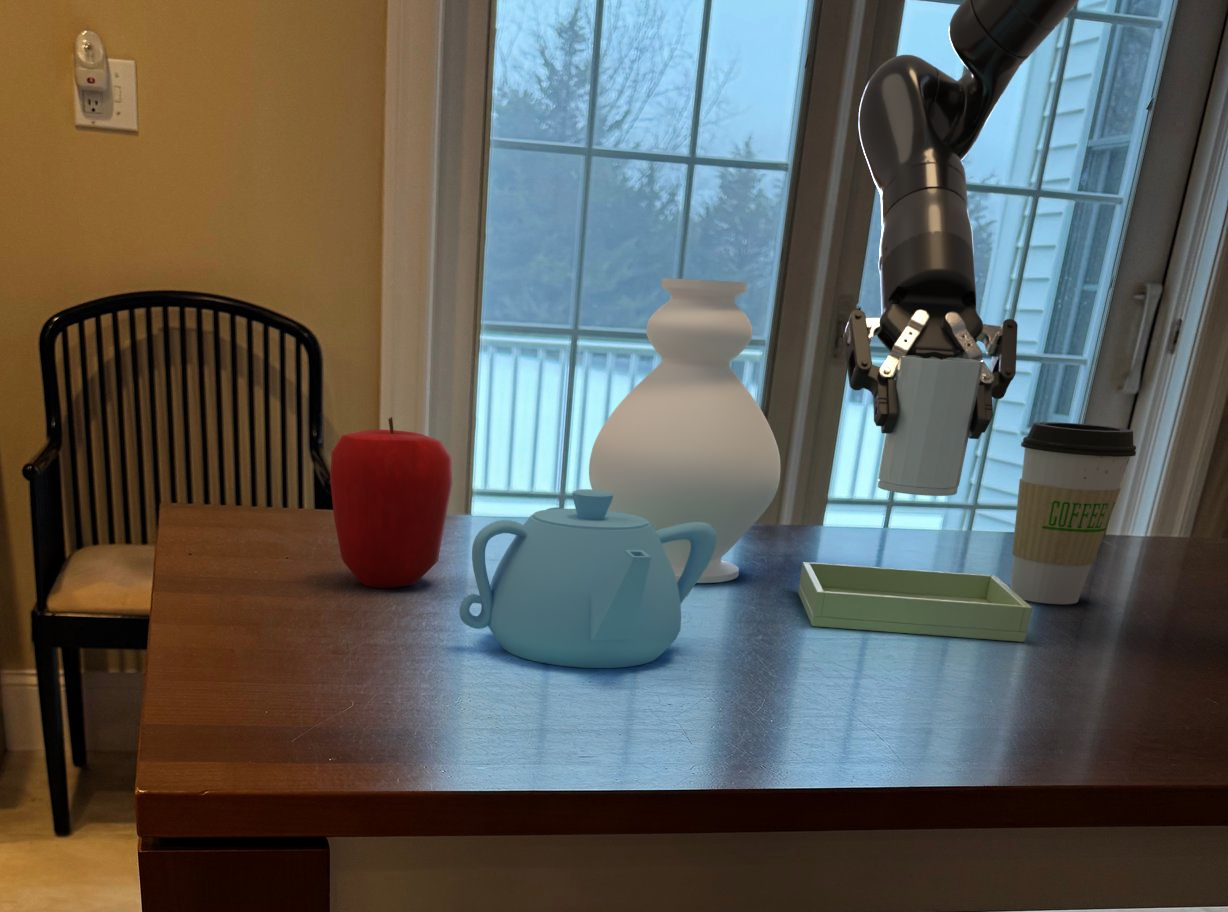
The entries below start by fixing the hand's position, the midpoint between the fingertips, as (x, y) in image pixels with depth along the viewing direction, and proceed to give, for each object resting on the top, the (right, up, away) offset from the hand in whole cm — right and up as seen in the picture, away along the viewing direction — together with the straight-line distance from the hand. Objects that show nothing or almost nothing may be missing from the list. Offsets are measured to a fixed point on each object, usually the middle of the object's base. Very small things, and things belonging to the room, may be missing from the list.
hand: (933, 429), depth 112 cm
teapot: (-29, -20, -8) cm, 36 cm away
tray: (0, -13, +9) cm, 15 cm away
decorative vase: (-18, -5, +23) cm, 29 cm away
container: (0, -4, +4) cm, 5 cm away
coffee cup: (+17, -8, +20) cm, 27 cm away
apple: (-45, -9, +11) cm, 47 cm away
